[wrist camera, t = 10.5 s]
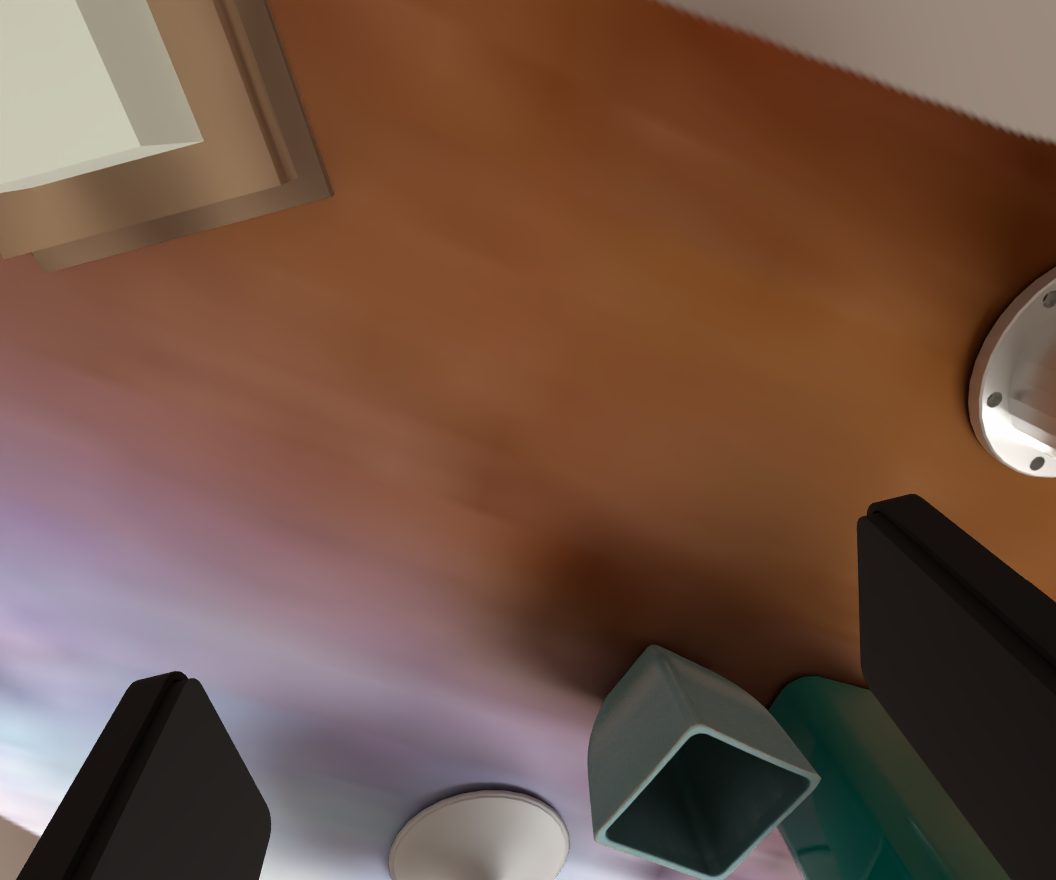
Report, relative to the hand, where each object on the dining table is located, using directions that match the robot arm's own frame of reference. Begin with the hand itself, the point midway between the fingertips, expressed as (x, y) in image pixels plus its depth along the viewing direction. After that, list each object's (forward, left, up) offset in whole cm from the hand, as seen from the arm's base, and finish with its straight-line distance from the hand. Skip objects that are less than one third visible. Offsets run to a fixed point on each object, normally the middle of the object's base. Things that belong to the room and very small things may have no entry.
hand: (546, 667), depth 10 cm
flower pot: (-5, +27, -25) cm, 37 cm away
